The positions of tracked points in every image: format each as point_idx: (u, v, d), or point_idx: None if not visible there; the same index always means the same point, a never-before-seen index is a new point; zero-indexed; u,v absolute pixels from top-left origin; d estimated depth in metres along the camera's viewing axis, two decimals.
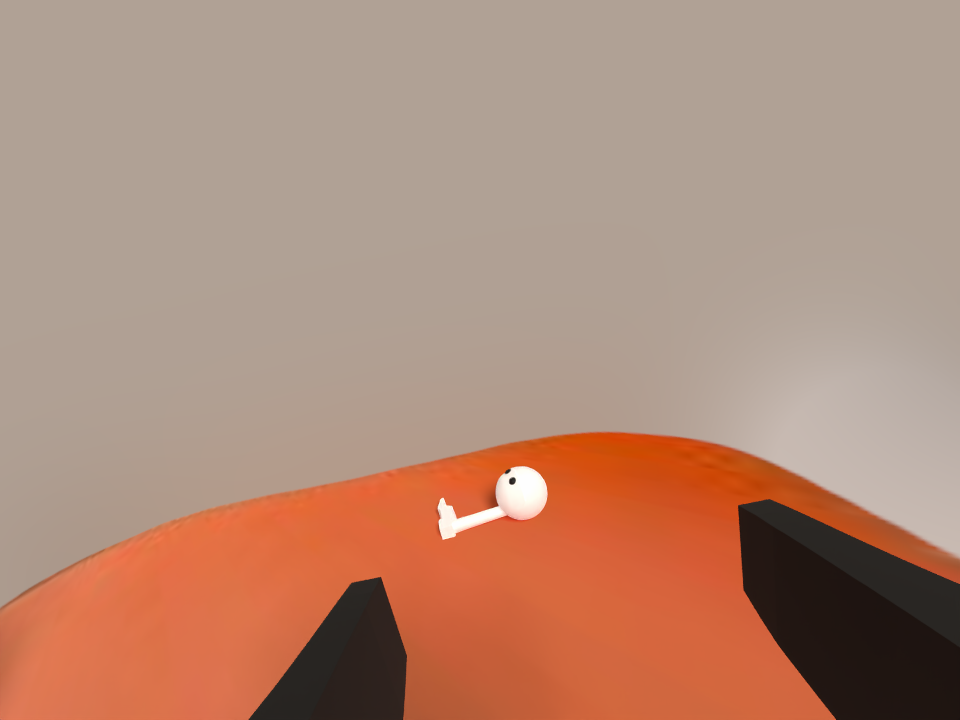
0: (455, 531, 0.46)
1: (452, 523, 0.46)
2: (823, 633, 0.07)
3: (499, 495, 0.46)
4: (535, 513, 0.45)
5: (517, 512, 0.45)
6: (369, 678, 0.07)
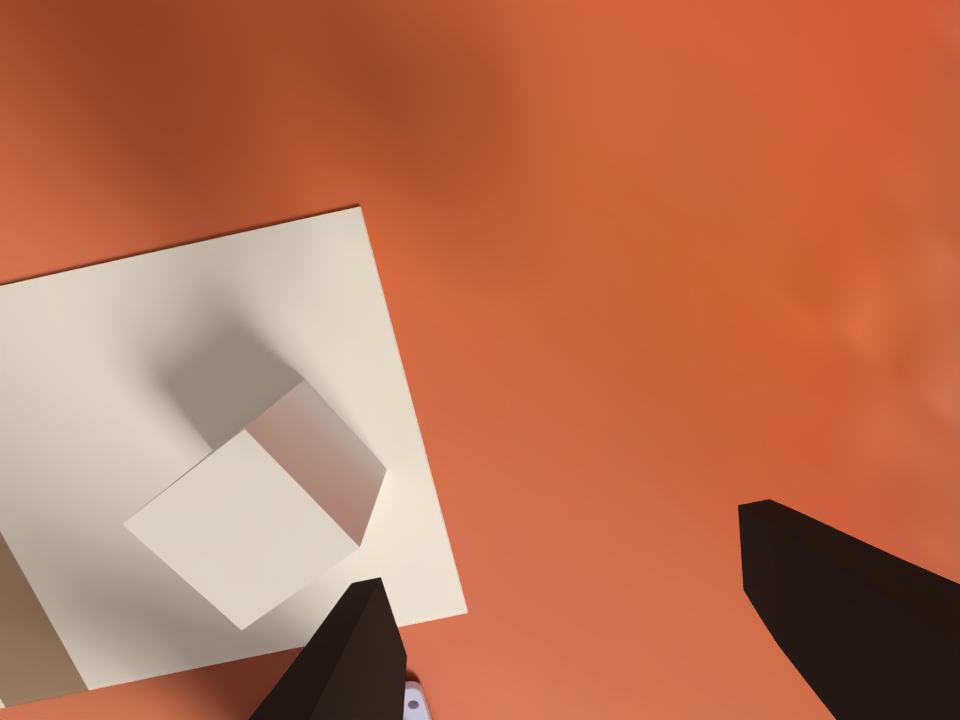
0: None
1: None
2: (823, 634, 0.07)
3: None
4: None
5: None
6: (369, 678, 0.07)
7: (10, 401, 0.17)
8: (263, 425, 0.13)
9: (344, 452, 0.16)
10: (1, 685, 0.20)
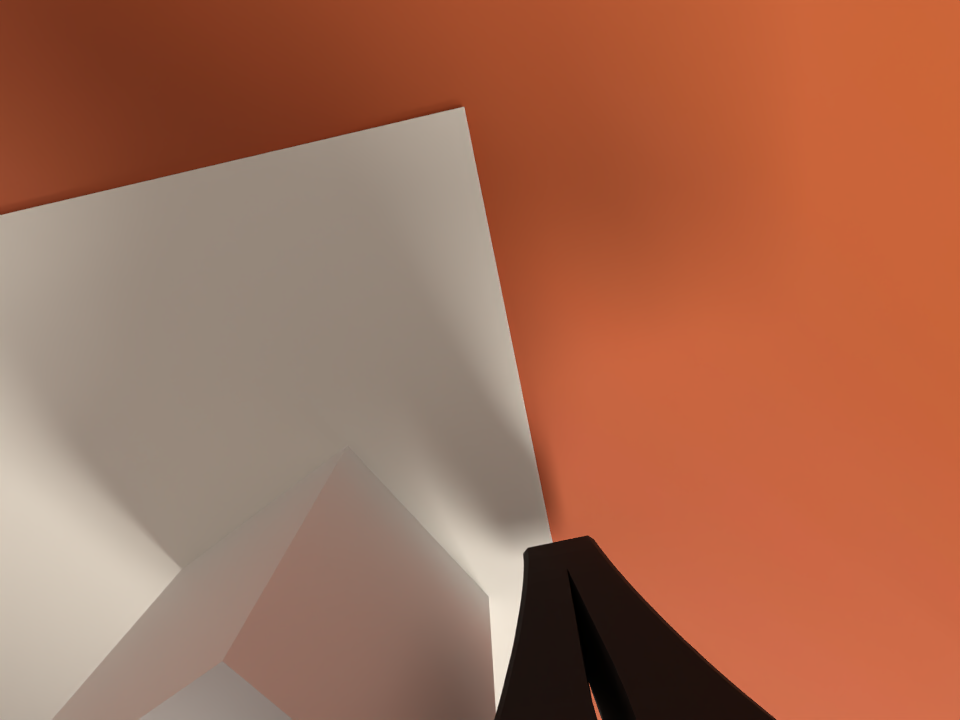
0: None
1: None
2: (598, 677, 0.07)
3: None
4: None
5: None
6: (579, 637, 0.07)
7: None
8: (274, 614, 0.05)
9: (428, 597, 0.08)
10: None
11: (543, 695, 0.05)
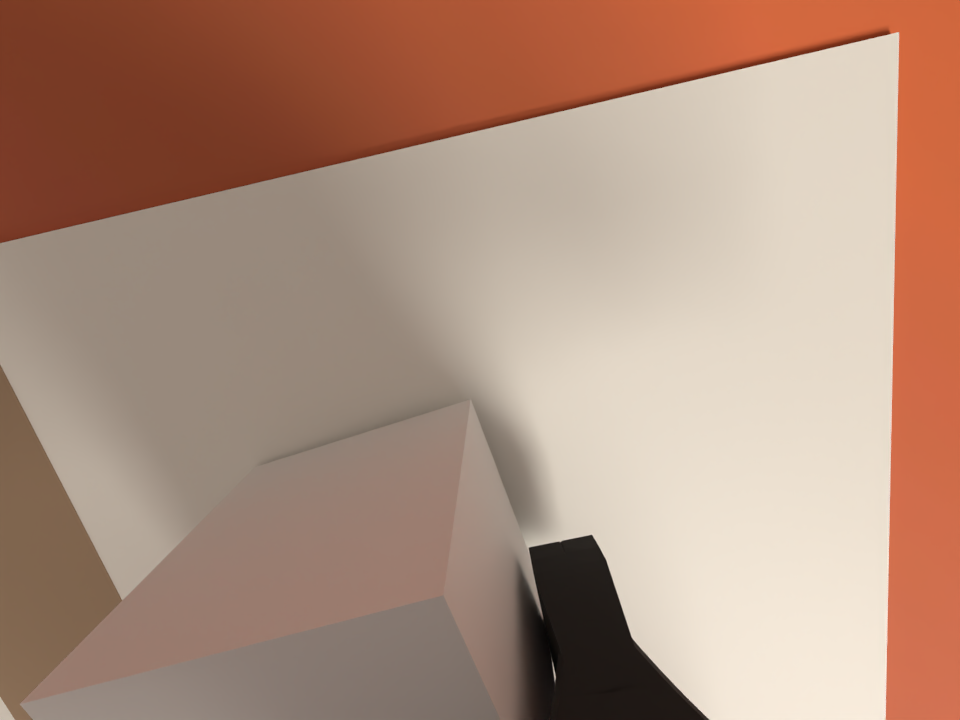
0: None
1: None
2: None
3: None
4: None
5: None
6: None
7: (179, 422, 0.09)
8: (459, 558, 0.05)
9: (519, 575, 0.08)
10: None
11: (600, 684, 0.05)
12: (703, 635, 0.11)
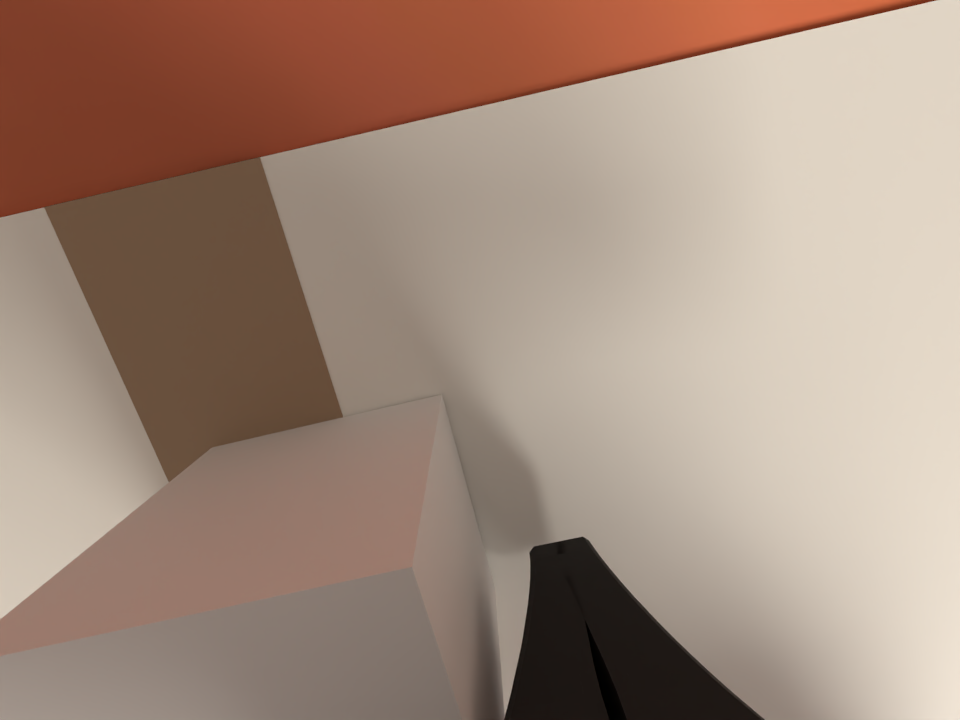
0: None
1: None
2: None
3: None
4: None
5: None
6: None
7: (474, 345, 0.09)
8: (427, 538, 0.05)
9: (476, 570, 0.08)
10: None
11: (553, 693, 0.05)
12: None
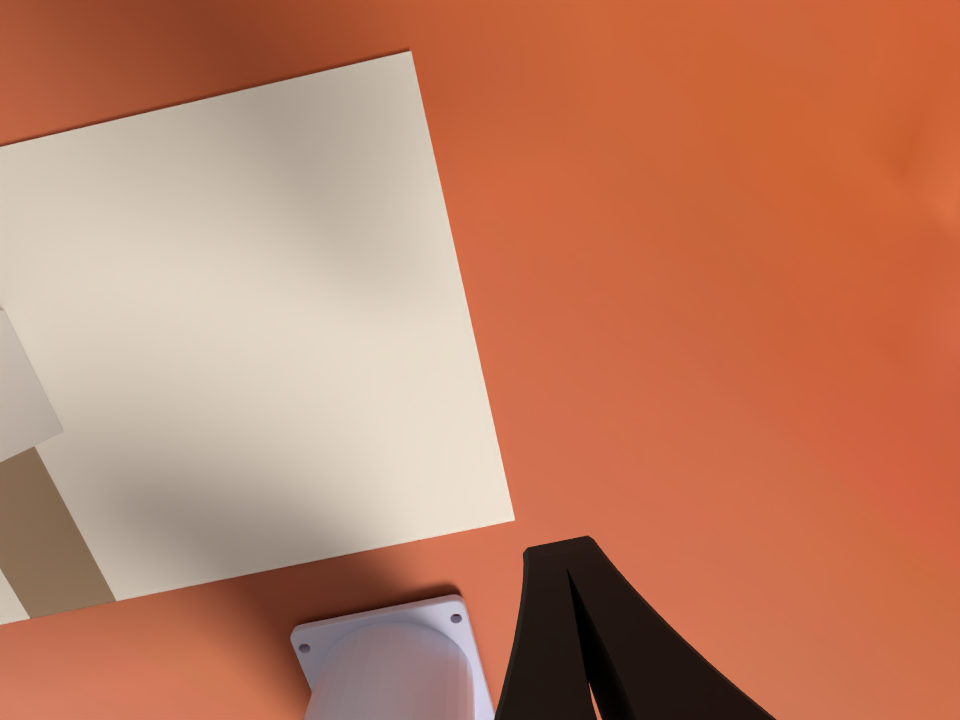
0: None
1: None
2: (598, 677, 0.07)
3: None
4: None
5: None
6: (579, 637, 0.07)
7: (32, 276, 0.16)
8: None
9: None
10: (26, 595, 0.19)
11: (543, 695, 0.05)
12: (376, 426, 0.18)
